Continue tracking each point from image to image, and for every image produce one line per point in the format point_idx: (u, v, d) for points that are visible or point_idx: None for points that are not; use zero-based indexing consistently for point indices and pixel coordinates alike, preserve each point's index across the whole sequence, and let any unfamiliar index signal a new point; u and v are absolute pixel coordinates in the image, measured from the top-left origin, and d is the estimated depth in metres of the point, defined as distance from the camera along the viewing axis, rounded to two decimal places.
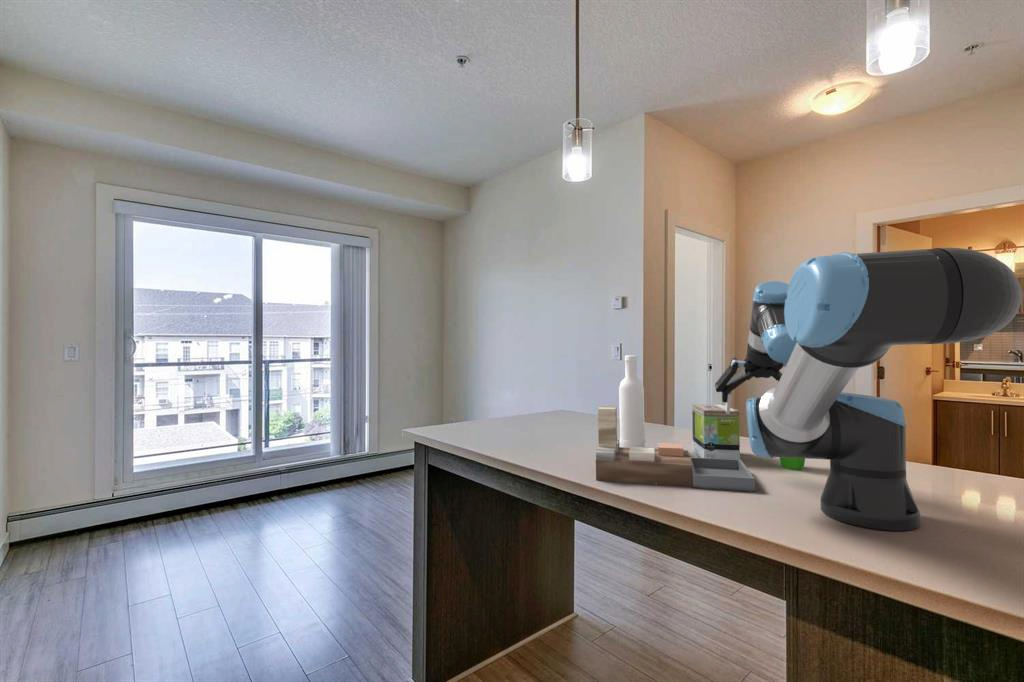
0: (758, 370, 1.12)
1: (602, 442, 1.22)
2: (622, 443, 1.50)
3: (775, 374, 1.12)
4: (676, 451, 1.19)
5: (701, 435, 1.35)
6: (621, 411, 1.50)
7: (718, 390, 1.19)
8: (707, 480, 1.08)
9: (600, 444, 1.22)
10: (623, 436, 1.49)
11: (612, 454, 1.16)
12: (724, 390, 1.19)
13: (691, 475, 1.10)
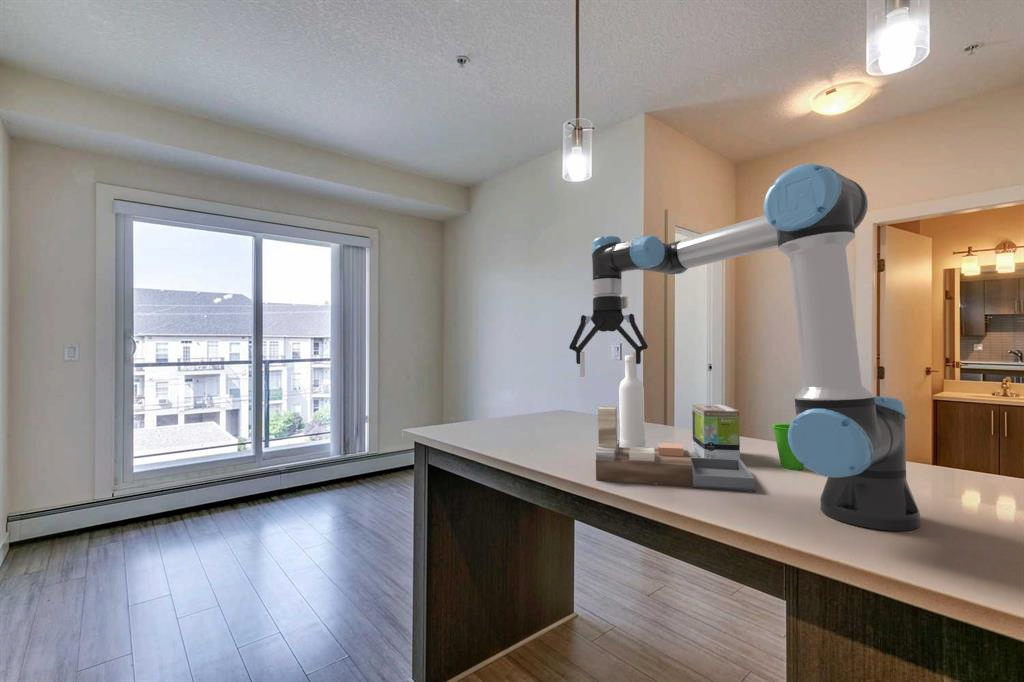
0: (601, 319, 1.23)
1: (602, 442, 1.22)
2: (622, 443, 1.50)
3: (617, 324, 1.22)
4: (676, 451, 1.19)
5: (701, 435, 1.35)
6: (621, 411, 1.50)
7: (571, 347, 1.26)
8: (707, 480, 1.08)
9: (600, 444, 1.22)
10: (623, 436, 1.49)
11: (612, 454, 1.16)
12: (576, 348, 1.26)
13: (691, 475, 1.10)
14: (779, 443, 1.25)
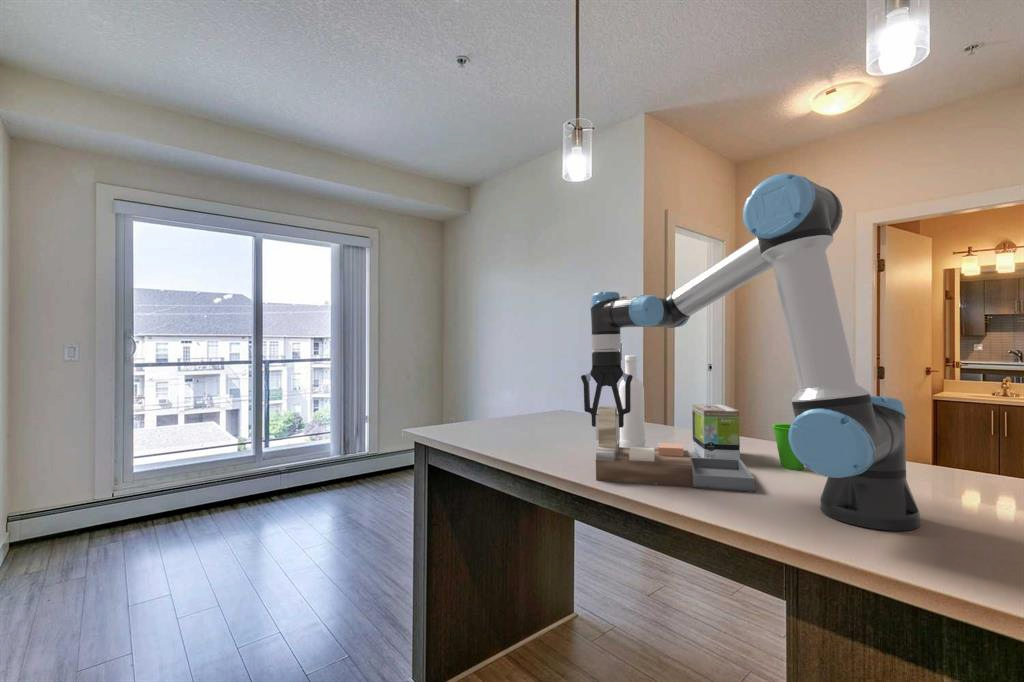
0: (600, 374, 1.23)
1: (602, 442, 1.22)
2: (622, 443, 1.50)
3: (613, 382, 1.22)
4: (676, 451, 1.19)
5: (701, 435, 1.35)
6: None
7: (586, 409, 1.24)
8: (707, 480, 1.08)
9: (600, 444, 1.22)
10: (623, 436, 1.49)
11: (612, 454, 1.16)
12: (591, 411, 1.24)
13: (691, 475, 1.10)
14: (779, 443, 1.25)
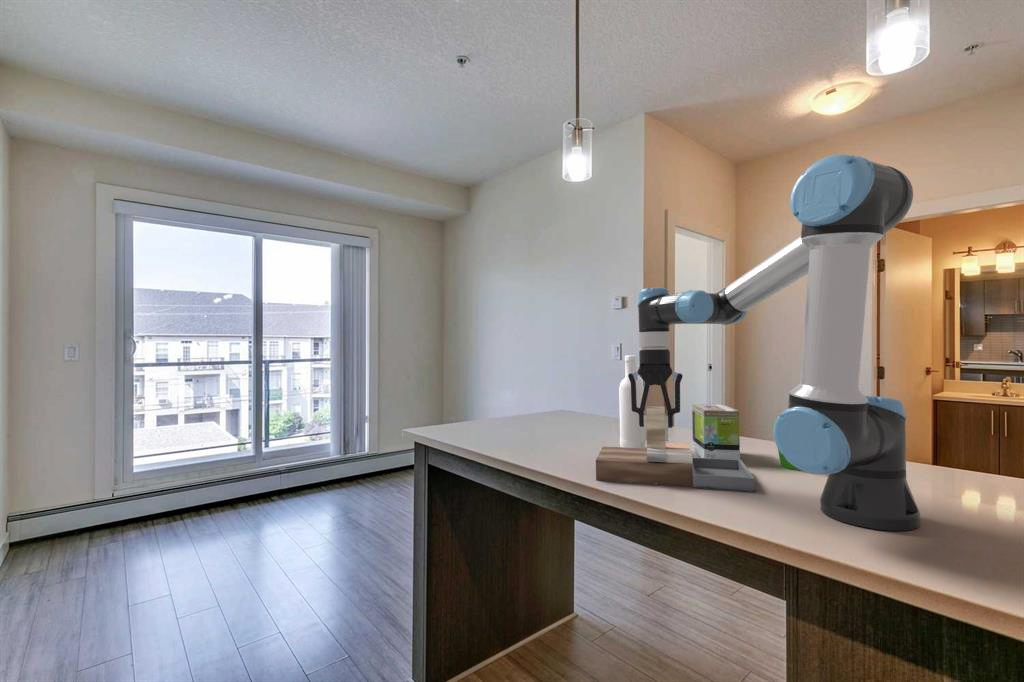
0: (649, 373, 1.19)
1: (650, 443, 1.19)
2: (622, 443, 1.50)
3: (662, 380, 1.18)
4: None
5: (701, 435, 1.35)
6: (621, 411, 1.50)
7: (633, 409, 1.21)
8: (707, 480, 1.08)
9: (649, 445, 1.19)
10: (623, 436, 1.49)
11: (664, 455, 1.12)
12: (639, 411, 1.21)
13: (691, 475, 1.10)
14: None
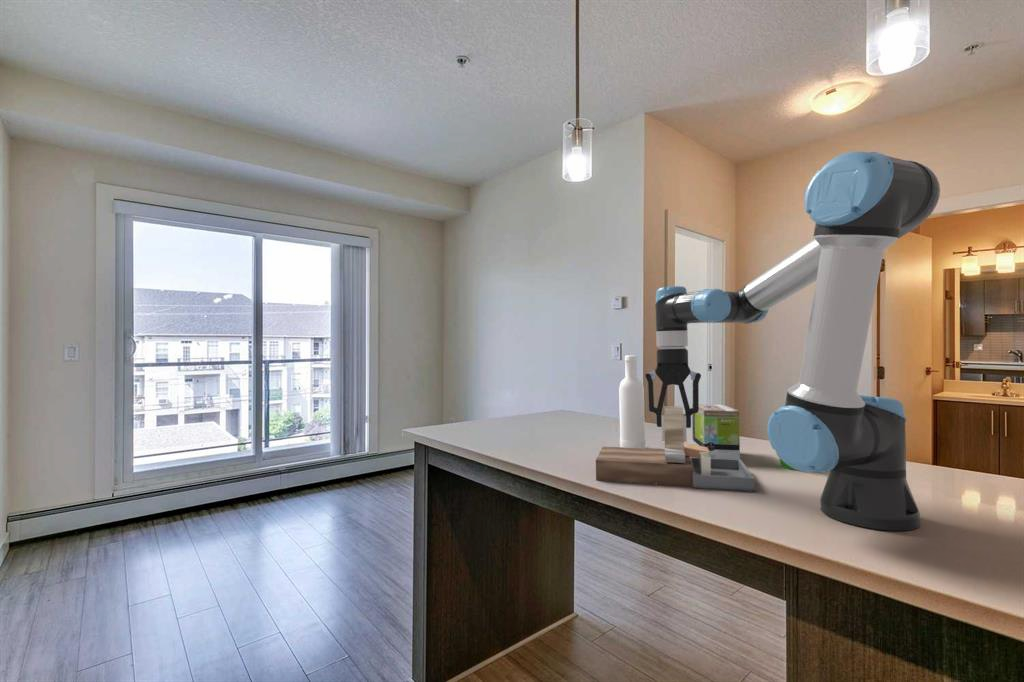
0: (667, 373, 1.18)
1: (668, 443, 1.17)
2: (622, 443, 1.50)
3: (681, 380, 1.17)
4: None
5: (701, 435, 1.35)
6: (621, 411, 1.50)
7: (651, 409, 1.20)
8: (707, 480, 1.08)
9: (667, 445, 1.17)
10: (623, 436, 1.49)
11: (683, 456, 1.11)
12: (656, 411, 1.19)
13: (691, 475, 1.10)
14: None
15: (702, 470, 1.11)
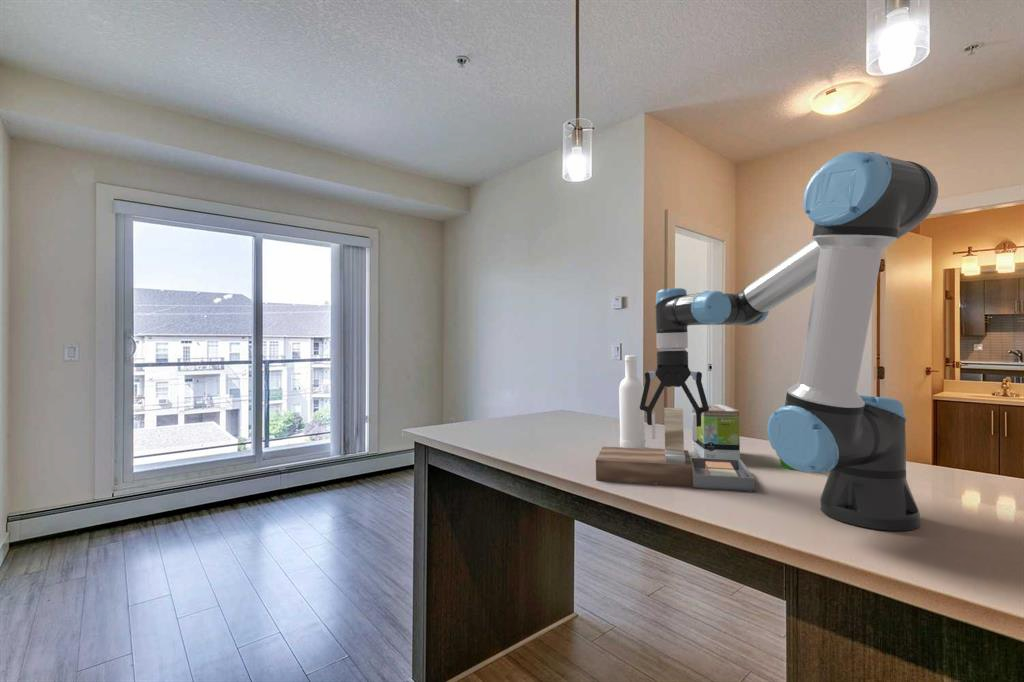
0: (667, 375, 1.18)
1: (668, 445, 1.17)
2: (622, 443, 1.50)
3: (682, 381, 1.17)
4: None
5: (701, 435, 1.35)
6: (621, 411, 1.50)
7: (641, 407, 1.20)
8: (707, 480, 1.08)
9: (667, 447, 1.17)
10: (623, 436, 1.49)
11: (683, 458, 1.11)
12: (647, 408, 1.20)
13: (691, 475, 1.10)
14: None
15: None
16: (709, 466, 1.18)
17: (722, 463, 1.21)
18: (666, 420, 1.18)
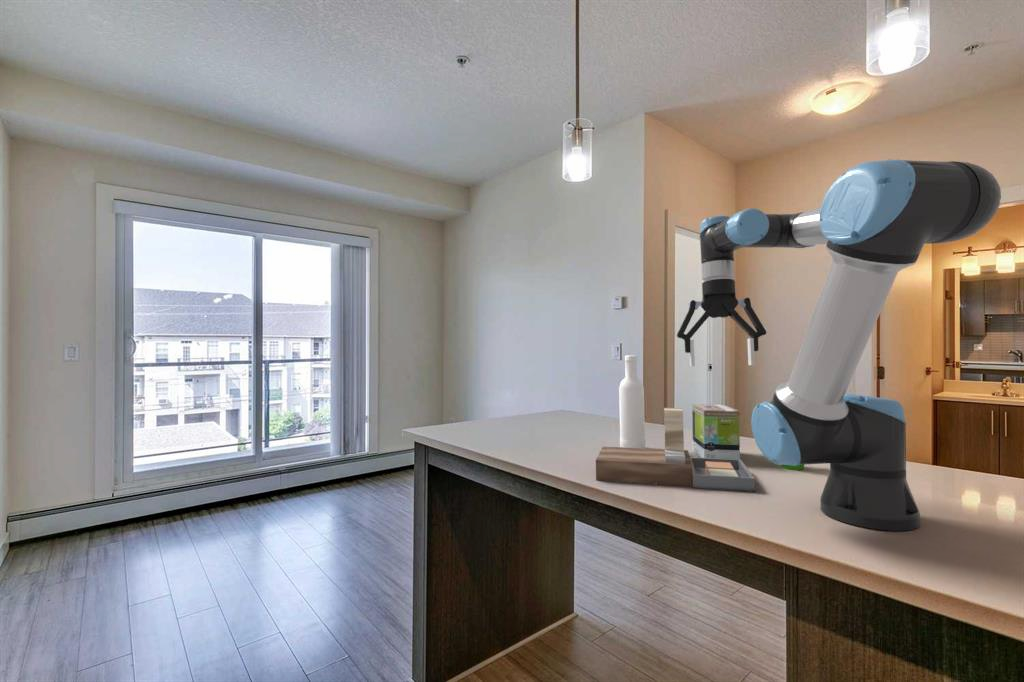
0: (715, 304, 1.15)
1: (668, 445, 1.17)
2: (622, 443, 1.50)
3: (732, 309, 1.15)
4: None
5: (701, 435, 1.35)
6: (621, 411, 1.50)
7: (680, 334, 1.18)
8: (707, 480, 1.08)
9: (667, 447, 1.17)
10: (623, 436, 1.49)
11: (683, 458, 1.11)
12: (686, 335, 1.18)
13: (691, 475, 1.10)
14: None
15: None
16: (709, 466, 1.18)
17: (722, 463, 1.21)
18: (666, 420, 1.18)
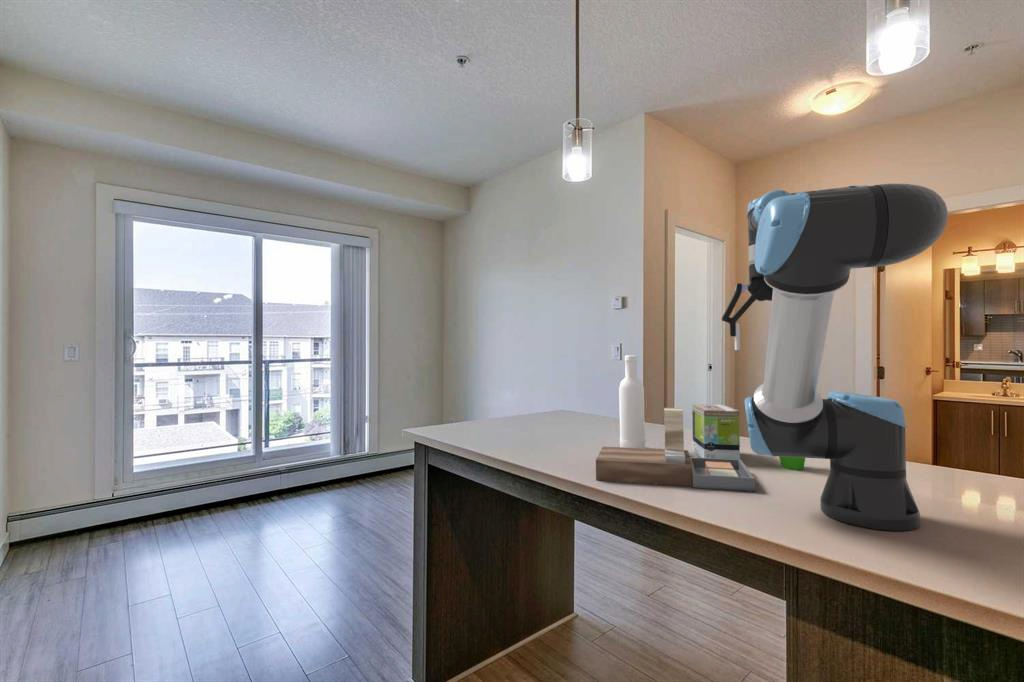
0: (762, 287, 1.13)
1: (668, 445, 1.17)
2: (622, 443, 1.50)
3: None
4: None
5: (701, 435, 1.35)
6: (621, 411, 1.50)
7: (725, 318, 1.16)
8: (707, 480, 1.08)
9: (667, 447, 1.17)
10: (623, 436, 1.49)
11: (683, 458, 1.11)
12: (731, 319, 1.16)
13: (691, 475, 1.10)
14: None
15: None
16: (709, 466, 1.18)
17: (722, 463, 1.21)
18: (666, 420, 1.18)
